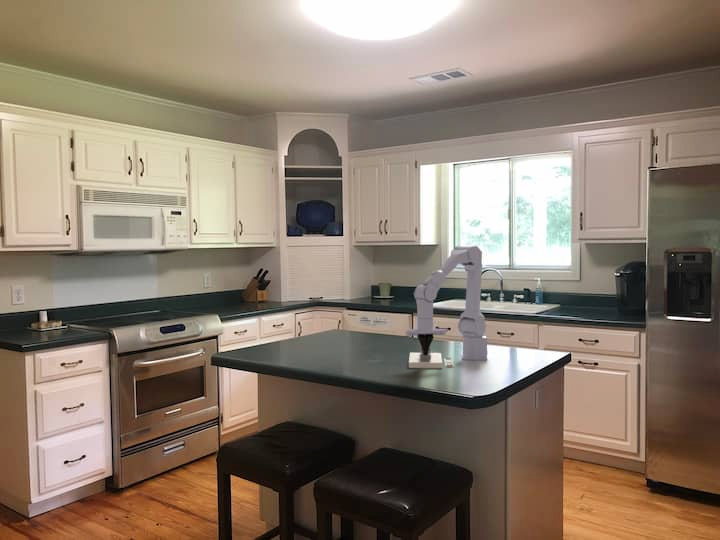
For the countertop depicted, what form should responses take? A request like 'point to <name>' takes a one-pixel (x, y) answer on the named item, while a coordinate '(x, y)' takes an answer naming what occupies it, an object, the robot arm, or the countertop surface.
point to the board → (417, 363)
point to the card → (448, 362)
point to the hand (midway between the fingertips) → (425, 354)
